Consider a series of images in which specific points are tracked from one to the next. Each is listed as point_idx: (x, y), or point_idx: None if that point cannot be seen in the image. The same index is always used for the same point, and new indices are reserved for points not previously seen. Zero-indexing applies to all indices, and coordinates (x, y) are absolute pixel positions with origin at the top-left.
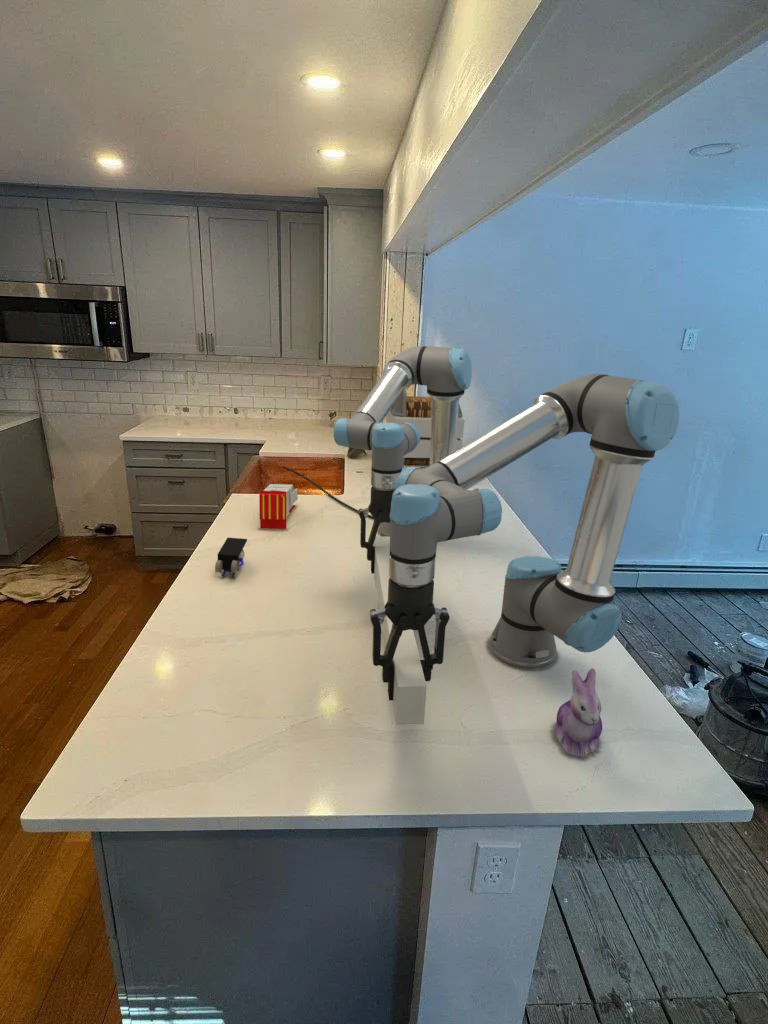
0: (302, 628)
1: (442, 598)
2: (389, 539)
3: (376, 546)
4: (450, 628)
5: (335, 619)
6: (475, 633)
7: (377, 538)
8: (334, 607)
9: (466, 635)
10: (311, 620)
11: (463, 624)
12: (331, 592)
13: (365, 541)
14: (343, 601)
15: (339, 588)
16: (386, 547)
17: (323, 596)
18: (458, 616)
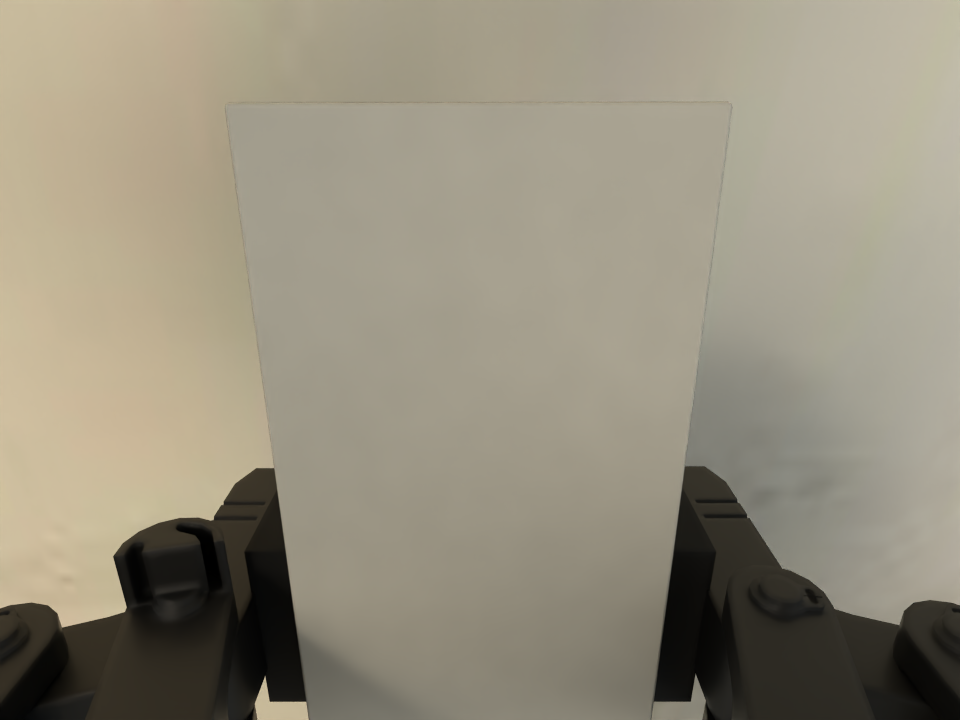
0: (22, 555)
1: (950, 208)
2: (663, 326)
3: (335, 667)
4: (842, 557)
5: (188, 473)
6: (955, 598)
7: (354, 258)
8: (155, 337)
9: (898, 613)
10: (47, 483)
11: (934, 522)
12: (85, 105)
13: (51, 704)
14: (204, 254)
15: (137, 26)
16: (528, 705)
17: (38, 175)
18: (947, 443)
